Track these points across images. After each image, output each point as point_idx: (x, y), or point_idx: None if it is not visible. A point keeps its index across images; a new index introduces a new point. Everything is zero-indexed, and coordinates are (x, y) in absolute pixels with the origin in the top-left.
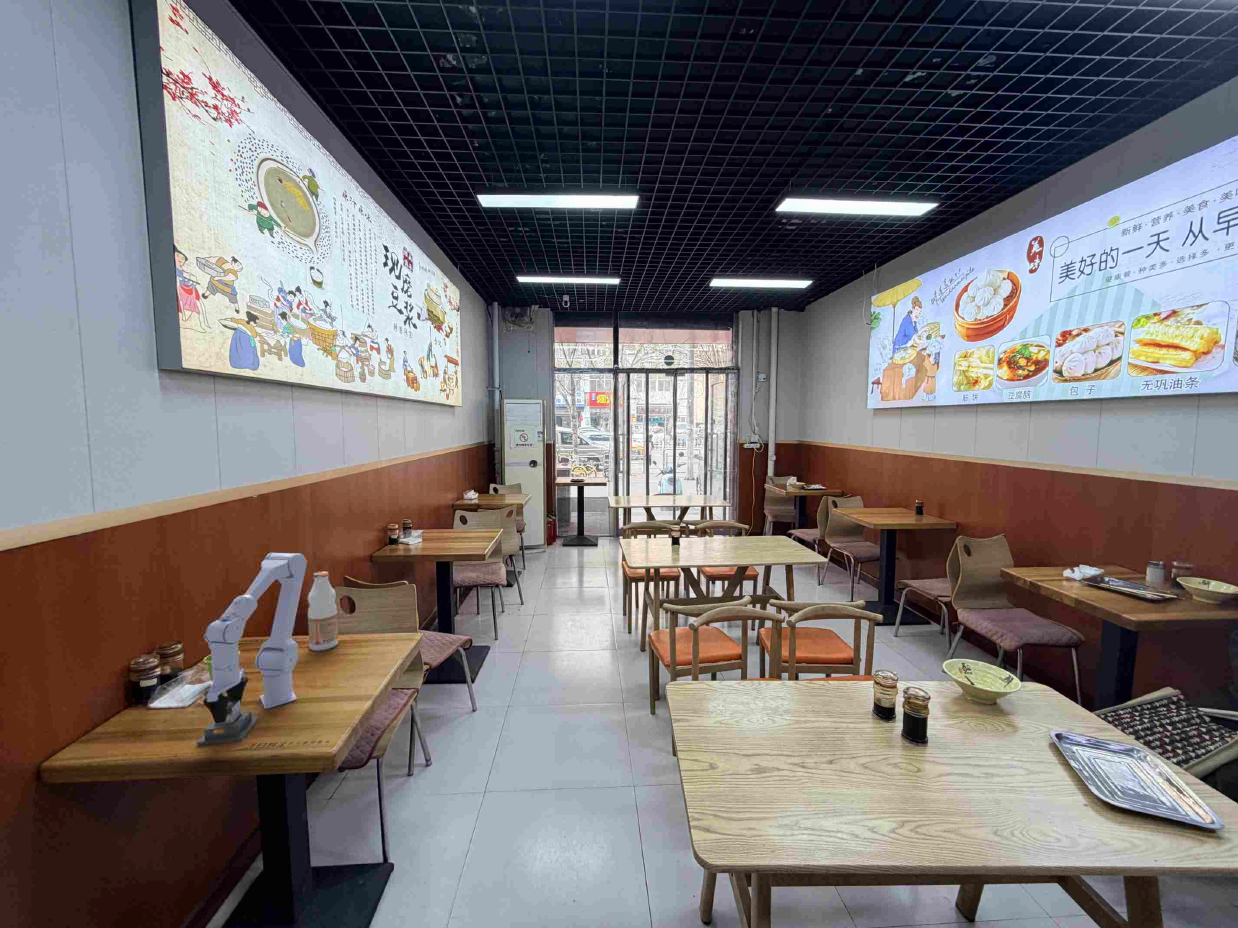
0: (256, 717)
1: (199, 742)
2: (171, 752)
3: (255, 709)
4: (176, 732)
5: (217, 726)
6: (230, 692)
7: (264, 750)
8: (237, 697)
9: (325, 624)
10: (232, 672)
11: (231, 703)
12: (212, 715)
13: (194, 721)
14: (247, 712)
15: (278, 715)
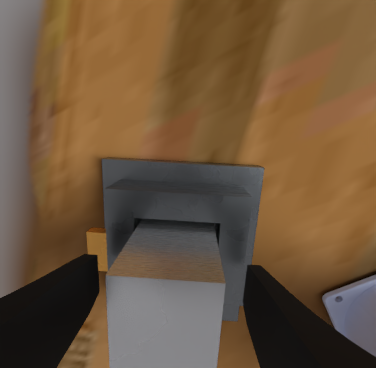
0: (240, 300)
1: (103, 168)
2: (80, 78)
3: (338, 259)
4: (248, 5)
5: (123, 235)
6: (292, 366)
7: None
8: (263, 353)
9: None
10: None
11: (179, 341)
12: (36, 281)
13: (333, 41)
14: (225, 310)
15: None
